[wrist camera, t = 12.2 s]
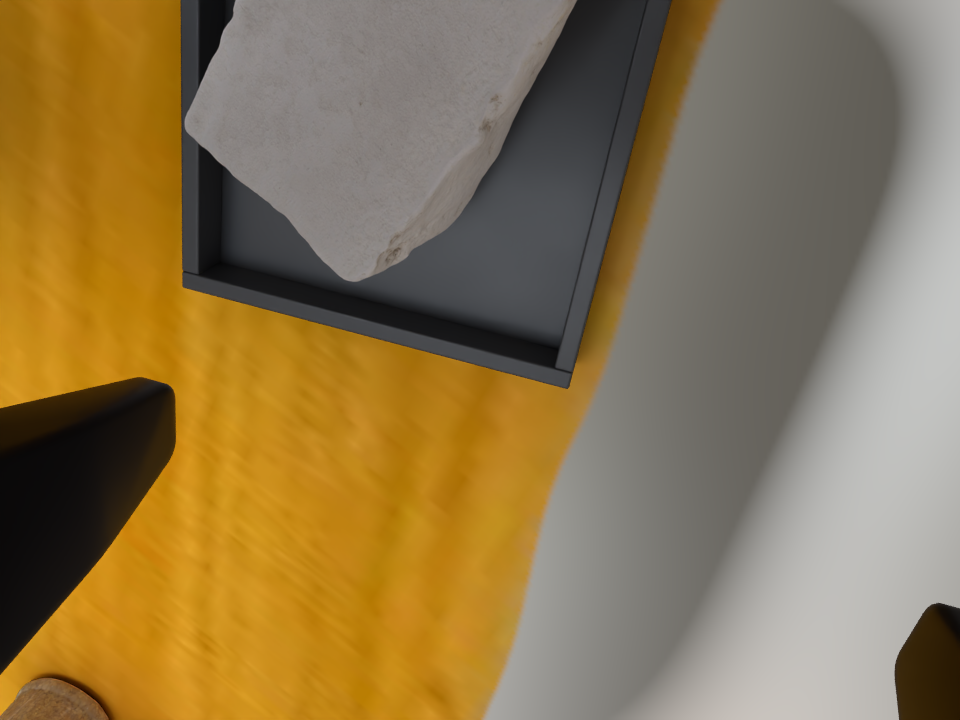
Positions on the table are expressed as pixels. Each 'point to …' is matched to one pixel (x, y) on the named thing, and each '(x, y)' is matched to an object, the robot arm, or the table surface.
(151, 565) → the table surface
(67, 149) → the table surface
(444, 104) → the grey stone block
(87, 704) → the sprinkles bottle
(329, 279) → the tray
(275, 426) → the table surface
